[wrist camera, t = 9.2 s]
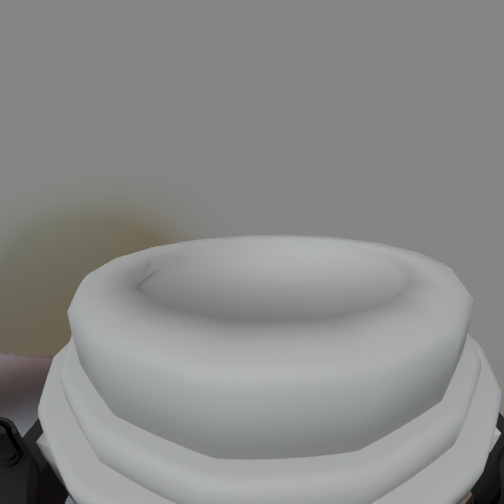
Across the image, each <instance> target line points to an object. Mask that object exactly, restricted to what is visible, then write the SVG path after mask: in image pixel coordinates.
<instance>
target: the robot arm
mask: <svg viewBox="0 0 504 504" xmlns="http://www.w3.org/2000/svg"><path fill="white" fill-rule="evenodd" d="M471 492H472V496H471V497H470V499H469V500H468V501H467V502H466V504H504V418H503V416H502V415H501V414H500V413H499V415H498V419H497V424H496V428H495V432H494V436H493V440H492V444H491V448H490V451H489V455H488V458H487V461H486V465H485V468H484V471H483V473H482V474H481V476H480V477H479V479H478V480H477V482H476V483H475V485H474V486H473V488H472V489H471ZM68 496H70V497H71V499H72V500H73V501H74V503H75V504H77V502H76V501H75V500H74V498H73V497H72V496H71V494H70V493H69V491H68V489H67V487H66V485H65V483H64V481H63V478H62V476H61V474H60V472H59V470H58V467H57V465H56V463H55V460H54V458H53V455H52V453H51V450H50V448H49V445H48V443H47V440H46V437H45V434H44V432H43V429H42V426H41V423H40V420H39V419H38V420H37V421H36V422H35V423H34V425H33V426H32V427H31V428H30V429H29V431H28V432H27V433H26V434H25V436H24V437H23V438H22V437H21V435H20V433H19V432H18V430H17V428H16V426H15V424H14V423H13V421H11V420H9V419H7V418H3V417H0V504H65V501H66V499H67V498H68Z"/></svg>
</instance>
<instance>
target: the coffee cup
mask: <svg viewBox="0 0 504 504" xmlns="http://www.w3.org/2000/svg"><path fill="white" fill-rule="evenodd" d="M473 305H474V300H473V299H472V297H471V296H470V294H469V293H468V291H467V290H466V289H465V287H464V286H463V284H462V283H461V282H460V280H459V279H458V278H457V276H456V275H455V274H454V272H453V271H452V270H451V268H450V267H448V266H446V265H444V264H442V263H440V262H438V261H435V260H433V259H431V258H429V257H427V256H425V255H423V254H421V253H418V252H414V251H410V250H406V249H403V248H398V247H394V246H390V245H386V244H382V243H377V242H369V241H362V240H354V239H346V238H338V237H324V236H323V237H322V236H303V235H252V236H233V237H222V238H210V239H199V240H193V241H187V242H181V243H175V244H170V245H163V246H158V247H152V248H149V249H146V250H142V251H139V252H136V253H132V254H129V255H126V256H123V257H119V258H116V259H114V260H112V261H110V262H109V263H107V264H105V265H103V266H102V267H100V268H98V269H96V270H95V271H93V272H91V273H90V274H88V275H87V276H86V277H85V278H84V280H83V281H82V282H81V284H80V285H79V288H78V289H77V292H76V294H75V296H74V298H73V301H72V302H71V305H70V307H69V309H68V317H69V322H70V326H71V330H72V336H71V339H70V342H69V343H68V344H67V345H66V346H65V347H64V348H63V349H62V350H61V351H60V352H59V353H58V354H57V355H56V356H54V358H53V361H52V364H51V367H50V370H49V373H48V376H47V379H46V383H45V386H44V389H43V393H42V396H41V399H40V403H39V406H38V417H39V420H40V423H41V426H42V429H43V432H44V434H45V437H46V440H47V443H48V445H49V448H50V450H51V453H52V455H53V458H54V460H55V463H56V465H57V467H58V470H59V472H60V474H61V476H62V478H63V481H64V483H65V485H66V487H67V489H68V491H69V493H70V494H71V496H72V497H73V498H74V500H75V501H76V502H77V504H459V503H460V502H461V501H462V500H463V499H464V498H465V497H466V496H467V495H468V493H469V492H470V490H471V489H472V488H473V486H474V485H475V483H476V482H477V480H478V479H479V477H480V476H481V474H482V473H483V471H484V468H485V465H486V461H487V458H488V455H489V451H490V448H491V444H492V440H493V436H494V432H495V428H496V424H497V419H498V415H499V410H500V405H501V390H500V388H499V385H498V383H497V381H496V378H495V376H494V374H493V372H492V369H491V367H490V365H489V362H488V360H487V358H486V356H485V354H484V352H483V350H482V347H481V345H479V344H478V343H477V342H476V341H474V340H473V339H472V338H471V337H470V335H469V333H468V329H469V324H470V320H471V315H472V310H473Z"/></svg>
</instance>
